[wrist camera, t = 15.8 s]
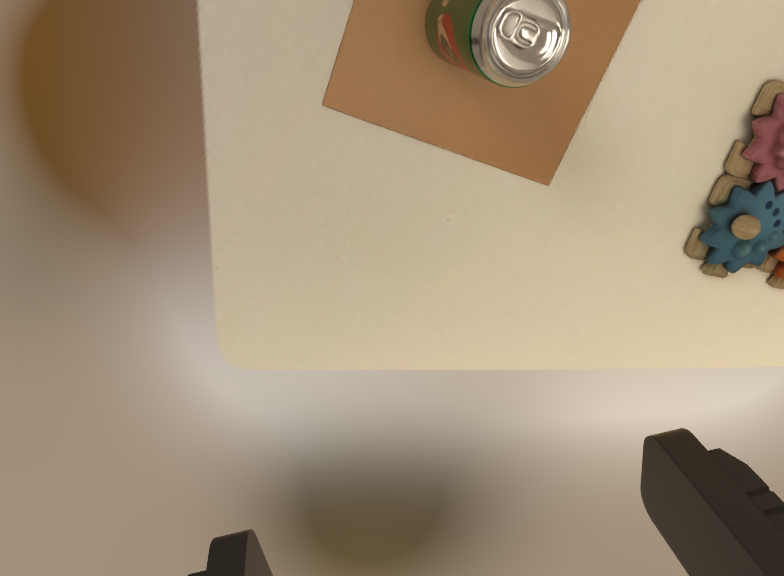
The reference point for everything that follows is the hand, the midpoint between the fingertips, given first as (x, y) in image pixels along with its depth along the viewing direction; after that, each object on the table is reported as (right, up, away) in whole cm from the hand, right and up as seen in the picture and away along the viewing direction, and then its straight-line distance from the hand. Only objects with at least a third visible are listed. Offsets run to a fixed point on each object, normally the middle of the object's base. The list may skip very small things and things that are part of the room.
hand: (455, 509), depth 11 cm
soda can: (+3, +22, +26) cm, 34 cm away
